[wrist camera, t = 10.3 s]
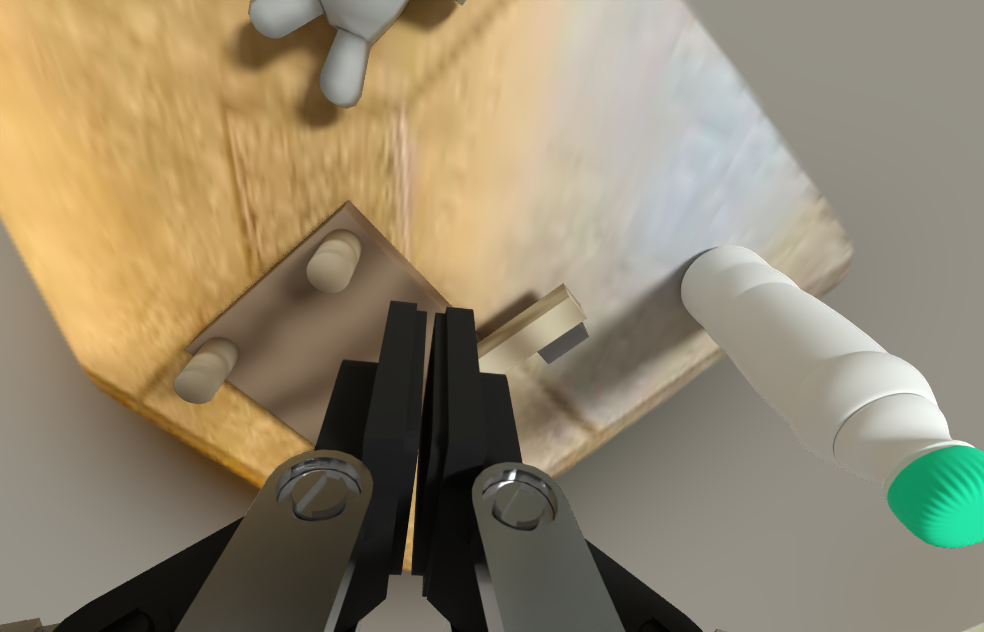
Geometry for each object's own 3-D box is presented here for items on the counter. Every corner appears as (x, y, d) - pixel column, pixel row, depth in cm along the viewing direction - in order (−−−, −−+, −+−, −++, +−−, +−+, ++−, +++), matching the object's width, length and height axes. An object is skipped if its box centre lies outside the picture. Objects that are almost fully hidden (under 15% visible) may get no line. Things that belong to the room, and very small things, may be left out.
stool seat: (198, 333, 43) (152, 386, 37) (427, 129, 37) (421, 149, 30) (364, 460, 51) (351, 522, 45) (577, 311, 45) (598, 357, 38)
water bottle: (709, 331, 46) (936, 591, 25) (661, 285, 44) (865, 531, 22) (775, 276, 44) (1089, 510, 22) (727, 225, 42) (1029, 431, 20)
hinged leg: (464, 383, 44) (464, 403, 42) (446, 365, 43) (445, 385, 41) (579, 304, 41) (587, 321, 39) (563, 283, 40) (570, 299, 38)
